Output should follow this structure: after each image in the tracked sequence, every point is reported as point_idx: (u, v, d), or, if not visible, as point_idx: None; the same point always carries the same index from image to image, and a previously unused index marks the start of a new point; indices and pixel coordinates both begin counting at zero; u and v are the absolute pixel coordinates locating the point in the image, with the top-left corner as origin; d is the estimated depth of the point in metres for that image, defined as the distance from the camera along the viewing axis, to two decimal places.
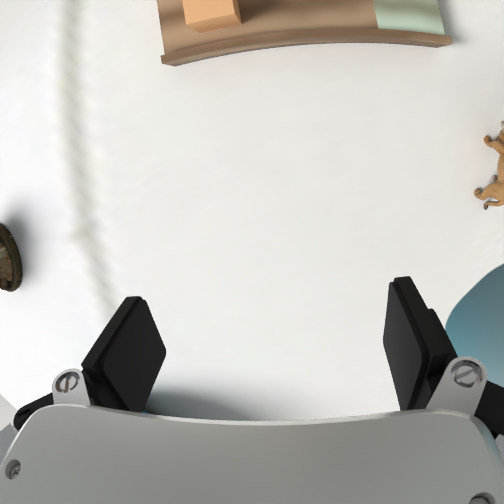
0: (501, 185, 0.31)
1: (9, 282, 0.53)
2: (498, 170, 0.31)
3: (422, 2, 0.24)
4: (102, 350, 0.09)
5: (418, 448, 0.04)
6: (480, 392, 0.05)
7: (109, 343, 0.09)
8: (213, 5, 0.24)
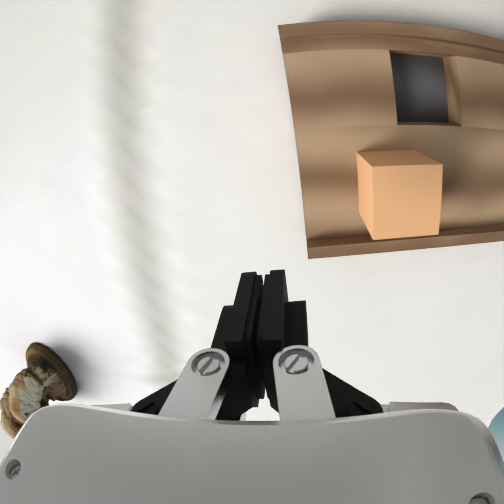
0: None
1: None
2: None
3: None
4: (244, 324, 0.09)
5: (418, 448, 0.04)
6: (320, 369, 0.07)
7: (247, 317, 0.10)
8: (415, 216, 0.19)
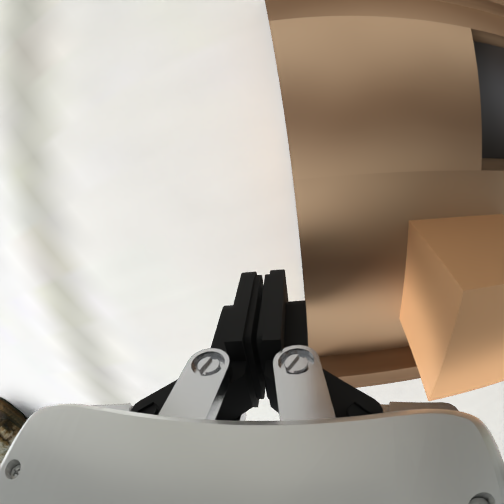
0: None
1: None
2: None
3: None
4: (245, 324, 0.09)
5: (418, 448, 0.04)
6: (320, 369, 0.07)
7: (247, 317, 0.10)
8: None
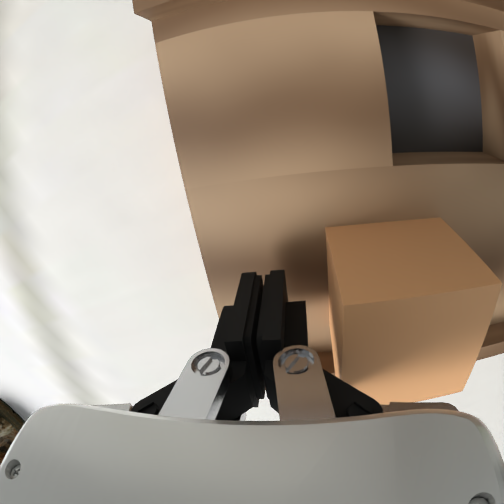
0: None
1: None
2: None
3: None
4: (245, 324, 0.09)
5: (418, 448, 0.04)
6: (320, 369, 0.07)
7: (247, 317, 0.10)
8: (427, 377, 0.09)
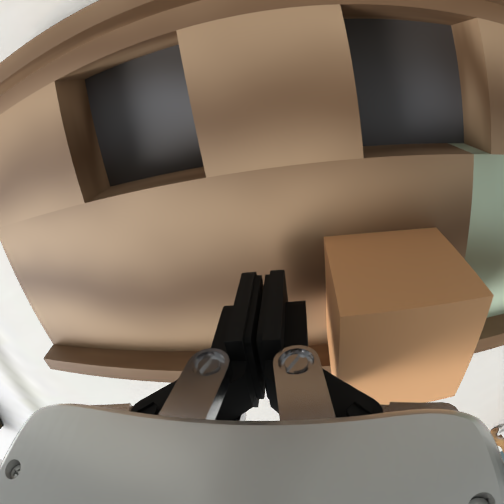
0: None
1: None
2: None
3: None
4: (245, 324, 0.09)
5: (418, 448, 0.04)
6: (320, 369, 0.07)
7: (247, 317, 0.10)
8: (420, 382, 0.09)
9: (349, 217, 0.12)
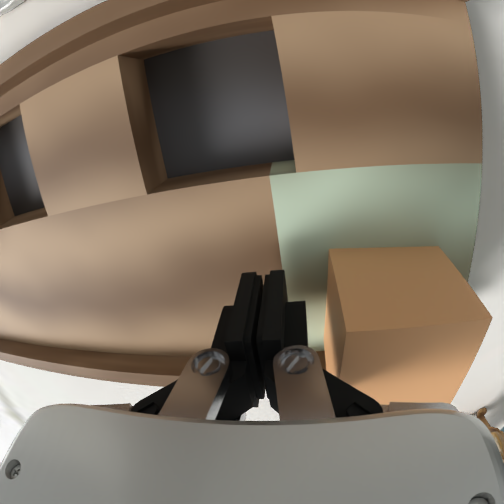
0: None
1: None
2: None
3: None
4: (244, 324, 0.09)
5: (418, 448, 0.04)
6: (320, 369, 0.07)
7: (247, 317, 0.10)
8: (415, 396, 0.09)
9: (147, 246, 0.13)
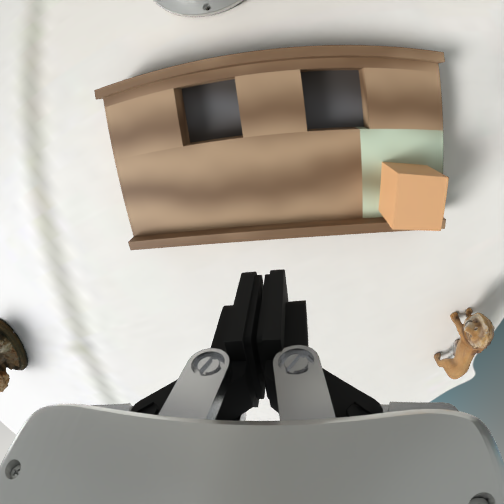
0: (454, 367, 0.36)
1: (16, 365, 0.56)
2: (456, 351, 0.36)
3: None
4: (244, 324, 0.09)
5: (418, 448, 0.04)
6: (320, 369, 0.07)
7: (247, 317, 0.10)
8: (425, 215, 0.25)
9: (302, 155, 0.29)
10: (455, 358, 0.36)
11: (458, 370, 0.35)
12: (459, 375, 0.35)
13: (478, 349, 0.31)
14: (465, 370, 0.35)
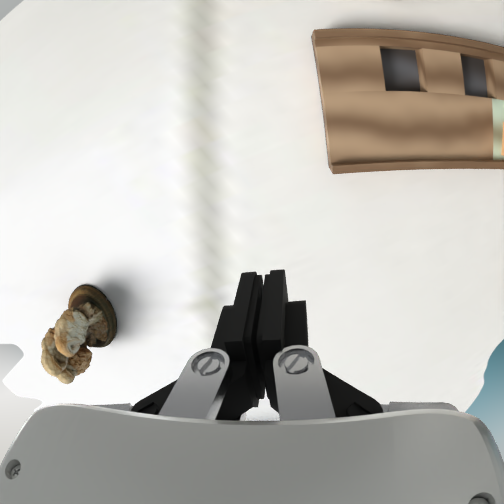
0: None
1: (100, 341, 0.59)
2: None
3: None
4: (245, 324, 0.09)
5: (418, 448, 0.04)
6: (320, 369, 0.07)
7: (247, 317, 0.10)
8: None
9: (462, 111, 0.32)
10: None
11: None
12: None
13: None
14: None
